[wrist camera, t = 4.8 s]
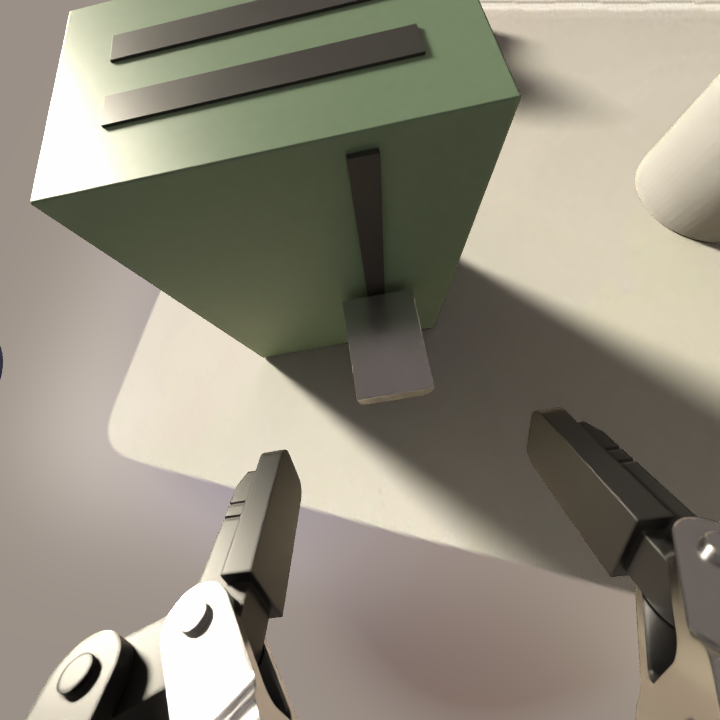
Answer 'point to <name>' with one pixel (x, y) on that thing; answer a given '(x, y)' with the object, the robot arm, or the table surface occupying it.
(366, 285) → the toaster
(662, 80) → the table surface
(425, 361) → the toaster lever
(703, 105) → the coffee mug
